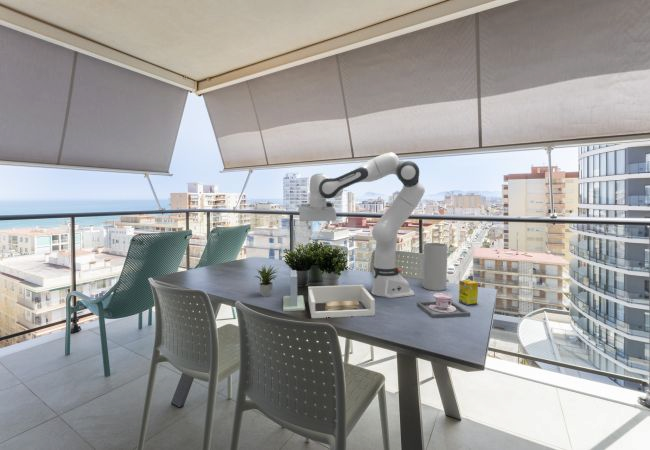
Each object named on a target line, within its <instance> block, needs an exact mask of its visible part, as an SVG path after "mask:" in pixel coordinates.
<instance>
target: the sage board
mask: <svg viewBox="0 0 650 450" xmlns="http://www.w3.org/2000/svg"><path fill="white" fill-rule="evenodd" d="M282 301H283V303H282V304H283V305H282V312H292V311H293V312H294V311H295V312H297V311H306V306H305V298H304V295H303V294H302V295H298V294H297V306H291V295H283V299H282Z"/></svg>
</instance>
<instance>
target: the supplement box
mask: <svg viewBox="0 0 650 450" xmlns="http://www.w3.org/2000/svg"><path fill="white" fill-rule="evenodd" d="M478 289H479V282H476V281H475V280H470V279H462V280H459V291H458V302H459V303H460V304H462V305H466V306H467V307H468V306H469V307H470V306H475V305H478V295H479V294H478V293H479V291H478Z"/></svg>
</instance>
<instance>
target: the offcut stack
mask: <svg viewBox="0 0 650 450" xmlns="http://www.w3.org/2000/svg"><path fill="white" fill-rule="evenodd" d="M360 306H361V305H360V303H359V302H357V300H355V301H333V302H326V303H325V307H324V311H339V310H358V309H360Z"/></svg>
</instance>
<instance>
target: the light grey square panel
mask: <svg viewBox="0 0 650 450" xmlns="http://www.w3.org/2000/svg"><path fill="white" fill-rule="evenodd" d="M289 272H290V273H289V274H290V275H289V278H290V283H289V284H290V286H289V288H290V296H291V306H297V296H298V273H297V272H298V271H297V270H296V269H292V270H291V269H290V270H289Z"/></svg>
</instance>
